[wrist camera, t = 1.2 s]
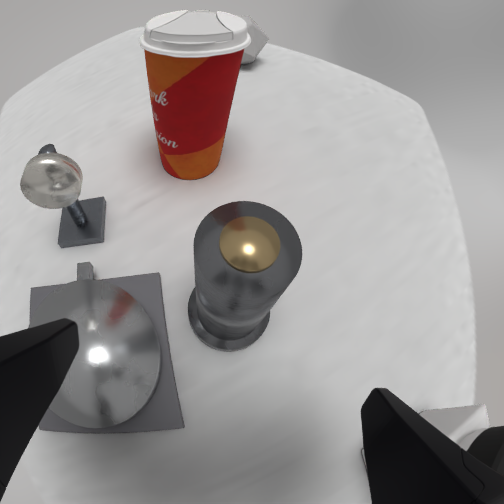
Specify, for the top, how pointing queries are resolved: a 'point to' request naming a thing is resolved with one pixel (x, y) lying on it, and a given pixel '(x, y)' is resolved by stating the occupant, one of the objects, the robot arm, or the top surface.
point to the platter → (103, 352)
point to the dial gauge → (64, 197)
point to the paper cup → (192, 85)
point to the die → (253, 40)
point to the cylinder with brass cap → (240, 272)
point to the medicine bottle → (470, 433)
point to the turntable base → (165, 395)
